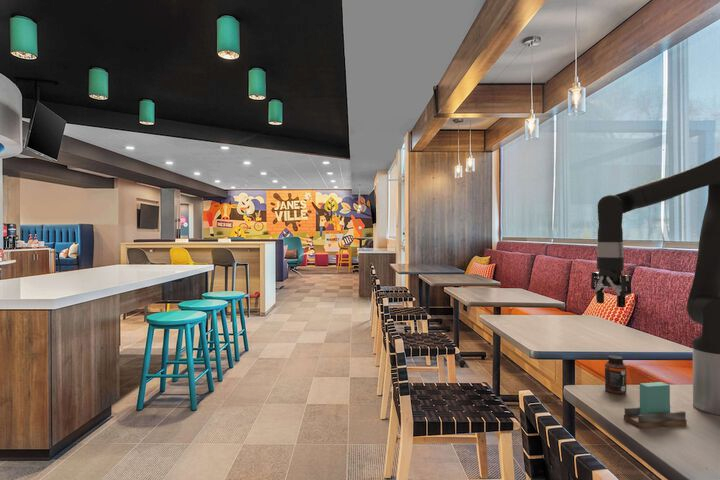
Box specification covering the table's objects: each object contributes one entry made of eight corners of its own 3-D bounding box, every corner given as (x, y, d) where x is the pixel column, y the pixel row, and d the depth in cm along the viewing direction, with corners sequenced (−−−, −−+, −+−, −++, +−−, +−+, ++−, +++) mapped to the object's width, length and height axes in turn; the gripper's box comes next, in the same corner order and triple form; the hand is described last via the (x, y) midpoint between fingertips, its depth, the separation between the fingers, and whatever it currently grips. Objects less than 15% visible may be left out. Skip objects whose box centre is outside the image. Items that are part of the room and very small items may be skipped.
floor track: (667, 415, 112) (667, 404, 112) (686, 424, 106) (686, 412, 106) (623, 419, 109) (623, 407, 109) (641, 428, 104) (641, 416, 104)
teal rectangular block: (661, 414, 109) (661, 381, 109) (669, 418, 107) (669, 385, 107) (639, 416, 108) (639, 383, 108) (647, 420, 106) (647, 386, 106)
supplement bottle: (630, 395, 126) (629, 360, 126) (609, 394, 127) (609, 358, 127) (621, 388, 132) (621, 354, 132) (602, 387, 133) (601, 353, 133)
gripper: (638, 256, 124) (638, 308, 124) (603, 255, 138) (603, 301, 138) (617, 257, 123) (617, 309, 123) (584, 255, 137) (584, 302, 137)
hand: (610, 305), depth 130 cm, fingers open, 8 cm apart
